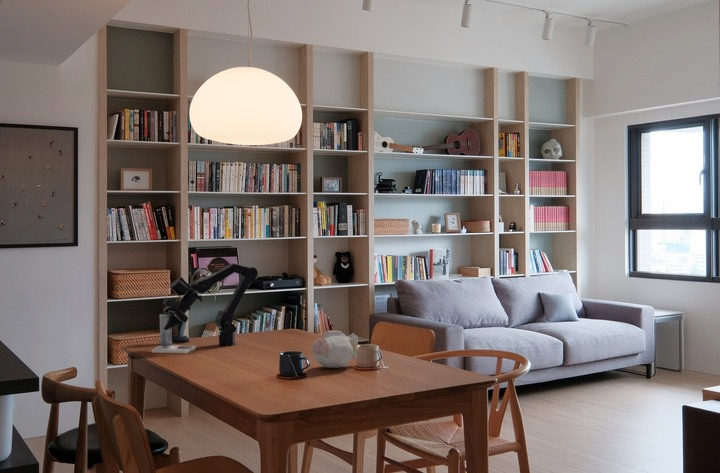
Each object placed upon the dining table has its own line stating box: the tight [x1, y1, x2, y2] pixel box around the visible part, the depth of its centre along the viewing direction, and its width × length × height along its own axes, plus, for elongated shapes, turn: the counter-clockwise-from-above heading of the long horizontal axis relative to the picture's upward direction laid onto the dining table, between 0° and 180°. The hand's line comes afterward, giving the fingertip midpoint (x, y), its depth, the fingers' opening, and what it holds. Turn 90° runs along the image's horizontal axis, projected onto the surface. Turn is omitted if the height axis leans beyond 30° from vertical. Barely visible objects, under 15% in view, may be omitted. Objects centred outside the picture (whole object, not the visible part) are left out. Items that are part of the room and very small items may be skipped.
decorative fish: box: [311, 330, 359, 369], centre depth 304 cm, size 16×19×15 cm
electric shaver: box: [163, 299, 190, 344], centre depth 374 cm, size 9×12×20 cm
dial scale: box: [151, 345, 197, 354], centre depth 350 cm, size 16×12×2 cm
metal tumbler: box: [159, 313, 173, 346], centre depth 349 cm, size 5×5×14 cm
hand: (162, 328), depth 348 cm, fingers closed on metal tumbler, 5 cm apart
